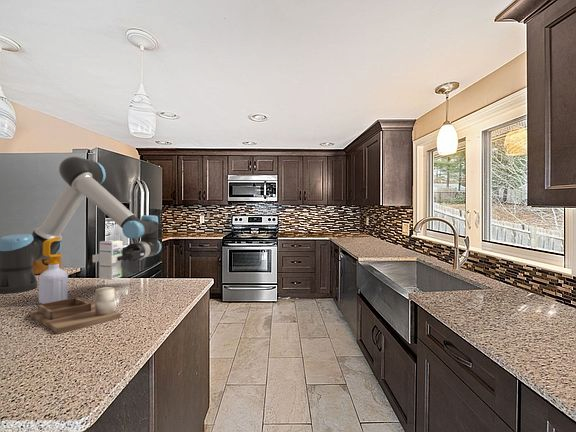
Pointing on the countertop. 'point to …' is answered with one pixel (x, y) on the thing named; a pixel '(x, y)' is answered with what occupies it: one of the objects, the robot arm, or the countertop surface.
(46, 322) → the caddy
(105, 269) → the syrup box
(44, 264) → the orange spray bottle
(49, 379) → the countertop surface
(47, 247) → the soap bottle
